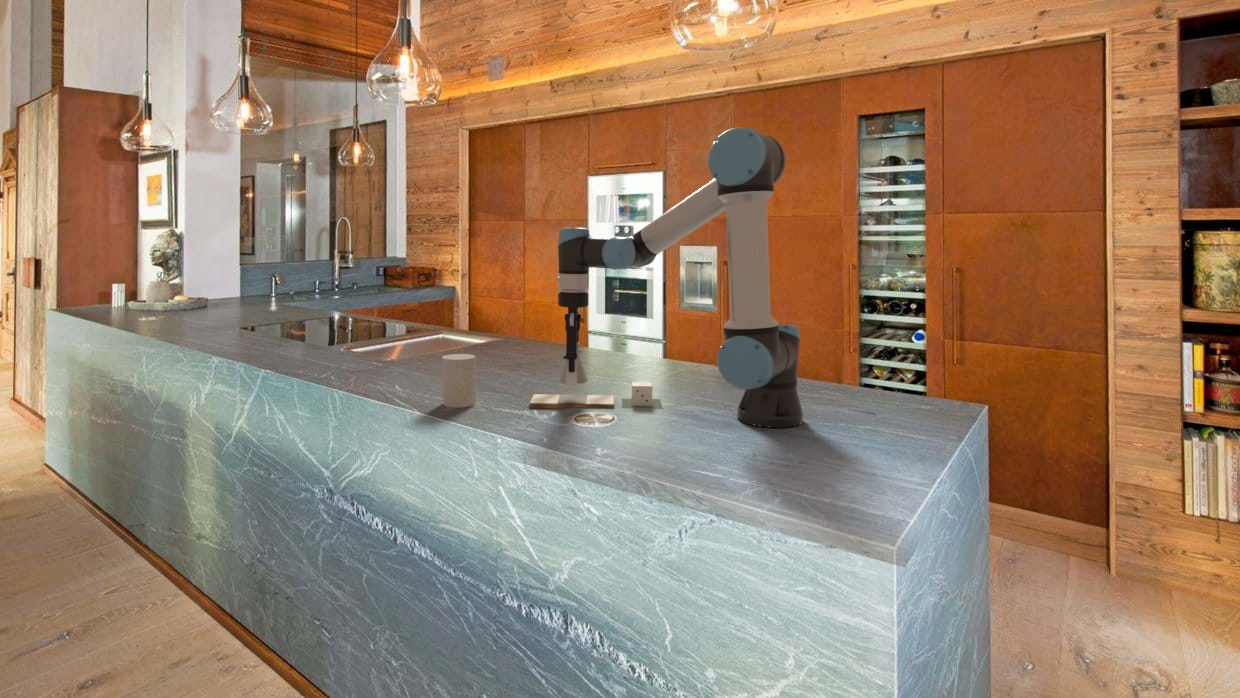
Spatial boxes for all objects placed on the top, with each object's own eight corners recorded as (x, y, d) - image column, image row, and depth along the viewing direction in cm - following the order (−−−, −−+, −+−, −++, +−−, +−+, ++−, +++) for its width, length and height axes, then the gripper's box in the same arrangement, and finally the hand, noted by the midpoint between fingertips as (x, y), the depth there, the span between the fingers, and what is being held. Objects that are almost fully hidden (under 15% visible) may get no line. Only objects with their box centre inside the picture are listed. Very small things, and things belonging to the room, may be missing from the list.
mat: (659, 400, 182) (659, 398, 182) (662, 409, 173) (662, 408, 173) (621, 399, 182) (621, 398, 182) (622, 409, 172) (622, 407, 172)
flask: (586, 385, 173) (586, 345, 171) (557, 384, 173) (557, 345, 171) (588, 379, 180) (588, 340, 178) (560, 378, 180) (560, 340, 178)
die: (650, 401, 180) (651, 381, 179) (652, 405, 175) (652, 386, 174) (631, 400, 180) (631, 381, 179) (631, 405, 175) (632, 385, 174)
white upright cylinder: (457, 409, 170) (456, 360, 168) (436, 403, 175) (435, 357, 173) (483, 403, 176) (482, 356, 174) (461, 398, 181) (460, 352, 179)
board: (613, 399, 182) (614, 395, 182) (614, 408, 172) (614, 404, 172) (533, 398, 182) (533, 394, 182) (529, 407, 172) (529, 403, 172)
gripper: (561, 287, 182) (560, 372, 186) (554, 294, 163) (554, 389, 166) (589, 287, 182) (588, 373, 186) (587, 294, 163) (585, 390, 166)
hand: (572, 381), depth 176 cm, fingers closed on flask, 7 cm apart
